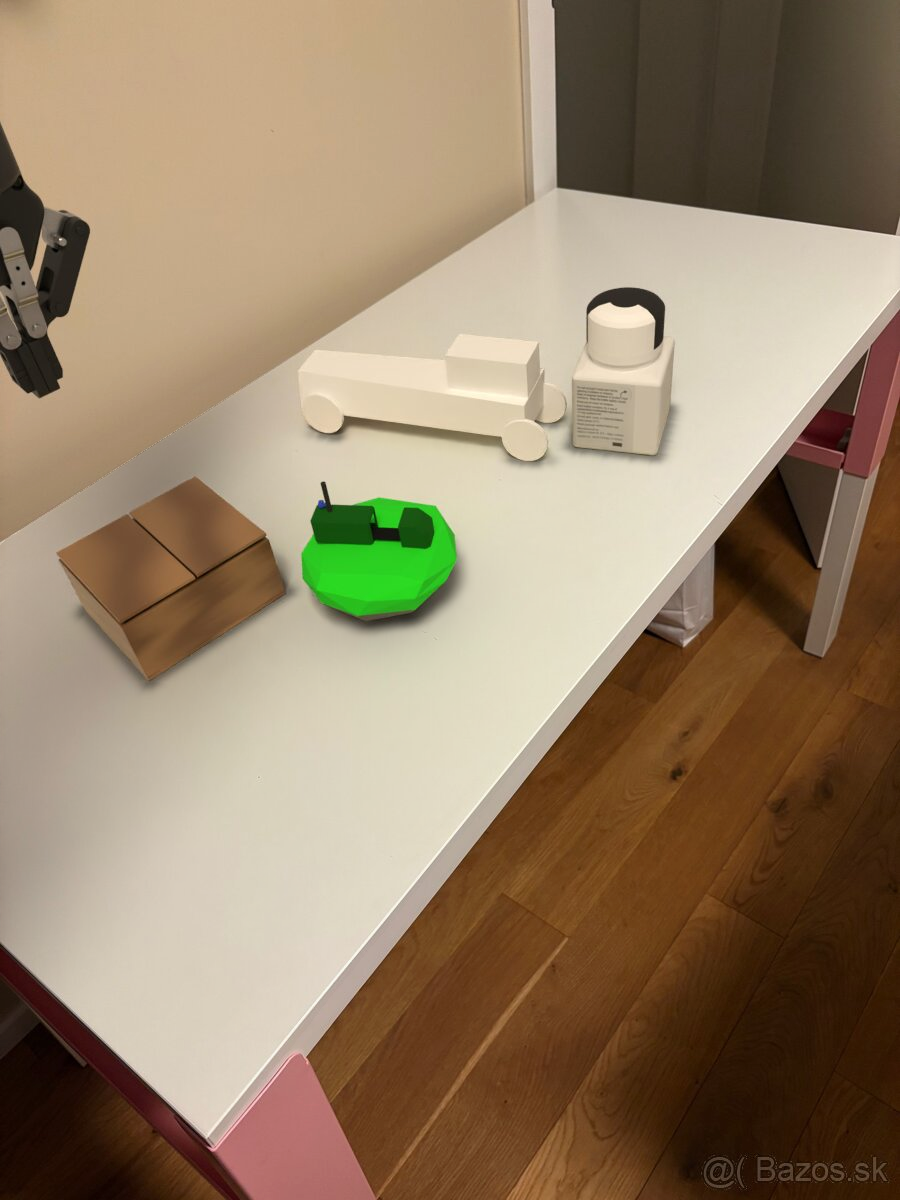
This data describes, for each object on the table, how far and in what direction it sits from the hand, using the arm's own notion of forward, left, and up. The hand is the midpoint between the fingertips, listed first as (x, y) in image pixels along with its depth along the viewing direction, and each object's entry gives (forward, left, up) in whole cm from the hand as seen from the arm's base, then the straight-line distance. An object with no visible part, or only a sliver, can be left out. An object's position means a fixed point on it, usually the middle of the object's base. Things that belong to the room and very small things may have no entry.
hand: (44, 389), depth 61 cm
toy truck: (+33, +3, -22) cm, 39 cm away
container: (+44, -11, -22) cm, 50 cm away
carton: (+3, 0, -22) cm, 22 cm away
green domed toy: (+15, -12, -22) cm, 29 cm away
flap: (0, 0, -16) cm, 16 cm away
